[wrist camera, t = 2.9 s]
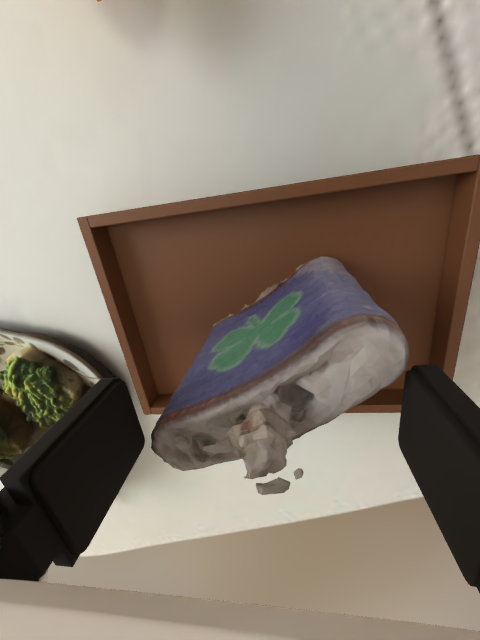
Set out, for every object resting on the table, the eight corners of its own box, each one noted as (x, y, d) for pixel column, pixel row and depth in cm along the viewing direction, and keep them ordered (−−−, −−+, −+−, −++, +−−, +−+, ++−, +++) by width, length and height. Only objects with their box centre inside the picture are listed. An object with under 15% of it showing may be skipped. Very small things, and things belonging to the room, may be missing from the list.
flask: (329, 244, 14) (425, 338, 5) (356, 288, 15) (487, 446, 6) (200, 330, 18) (101, 490, 8) (228, 362, 18) (168, 546, 9)
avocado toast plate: (-48, 455, 28) (-106, 500, 24) (-114, 291, 20) (-216, 315, 16) (133, 501, 27) (105, 557, 23) (133, 346, 19) (92, 386, 15)
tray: (469, 157, 12) (498, 151, 11) (431, 392, 17) (447, 412, 16) (97, 216, 16) (76, 217, 14) (154, 398, 21) (143, 414, 19)
